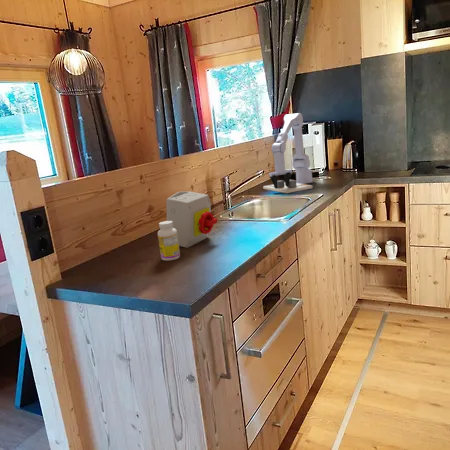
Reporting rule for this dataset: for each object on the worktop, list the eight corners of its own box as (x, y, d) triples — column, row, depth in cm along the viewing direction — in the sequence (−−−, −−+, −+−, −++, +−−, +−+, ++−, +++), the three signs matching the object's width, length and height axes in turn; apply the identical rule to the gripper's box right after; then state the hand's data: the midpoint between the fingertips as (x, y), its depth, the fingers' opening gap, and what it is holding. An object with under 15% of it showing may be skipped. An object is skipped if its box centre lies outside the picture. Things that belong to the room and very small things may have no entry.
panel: (287, 184, 275) (287, 181, 274) (312, 188, 252) (312, 185, 251) (263, 188, 268) (263, 186, 267) (286, 193, 245) (286, 190, 244)
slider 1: (281, 186, 258) (280, 179, 257) (284, 186, 255) (284, 180, 254) (274, 187, 257) (274, 180, 256) (278, 188, 253) (277, 181, 252)
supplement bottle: (161, 256, 153) (156, 221, 150) (180, 254, 153) (175, 219, 150) (160, 262, 146) (155, 225, 143) (180, 259, 147) (175, 223, 144)
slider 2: (292, 185, 256) (291, 179, 255) (296, 186, 252) (296, 179, 251) (286, 186, 254) (286, 180, 253) (290, 187, 250) (290, 180, 250)
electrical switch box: (199, 255, 157) (199, 202, 151) (167, 246, 164) (166, 195, 158) (220, 243, 169) (221, 193, 163) (190, 235, 176) (189, 188, 170)
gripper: (286, 161, 253) (288, 184, 257) (265, 165, 248) (267, 188, 251) (293, 162, 247) (294, 185, 250) (271, 165, 242) (273, 189, 245)
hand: (281, 187), depth 250 cm, fingers open, 7 cm apart
